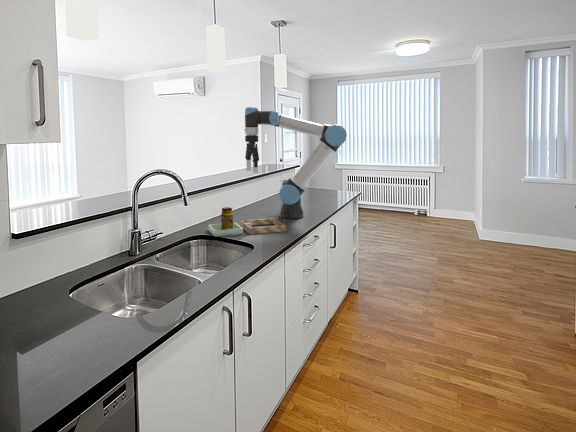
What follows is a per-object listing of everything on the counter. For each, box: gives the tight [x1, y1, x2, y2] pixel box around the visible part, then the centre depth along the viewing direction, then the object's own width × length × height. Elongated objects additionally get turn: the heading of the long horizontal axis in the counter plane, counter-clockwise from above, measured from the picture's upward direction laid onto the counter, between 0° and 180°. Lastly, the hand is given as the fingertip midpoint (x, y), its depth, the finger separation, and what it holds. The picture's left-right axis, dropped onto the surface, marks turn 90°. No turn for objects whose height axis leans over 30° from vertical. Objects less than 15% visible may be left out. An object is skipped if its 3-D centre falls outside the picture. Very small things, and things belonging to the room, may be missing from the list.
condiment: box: [217, 207, 234, 230], centre depth 211 cm, size 7×8×12 cm
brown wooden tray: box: [239, 217, 287, 235], centre depth 221 cm, size 20×20×3 cm
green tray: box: [208, 222, 244, 238], centre depth 212 cm, size 15×15×3 cm
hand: (252, 172), depth 237 cm, fingers open, 13 cm apart
